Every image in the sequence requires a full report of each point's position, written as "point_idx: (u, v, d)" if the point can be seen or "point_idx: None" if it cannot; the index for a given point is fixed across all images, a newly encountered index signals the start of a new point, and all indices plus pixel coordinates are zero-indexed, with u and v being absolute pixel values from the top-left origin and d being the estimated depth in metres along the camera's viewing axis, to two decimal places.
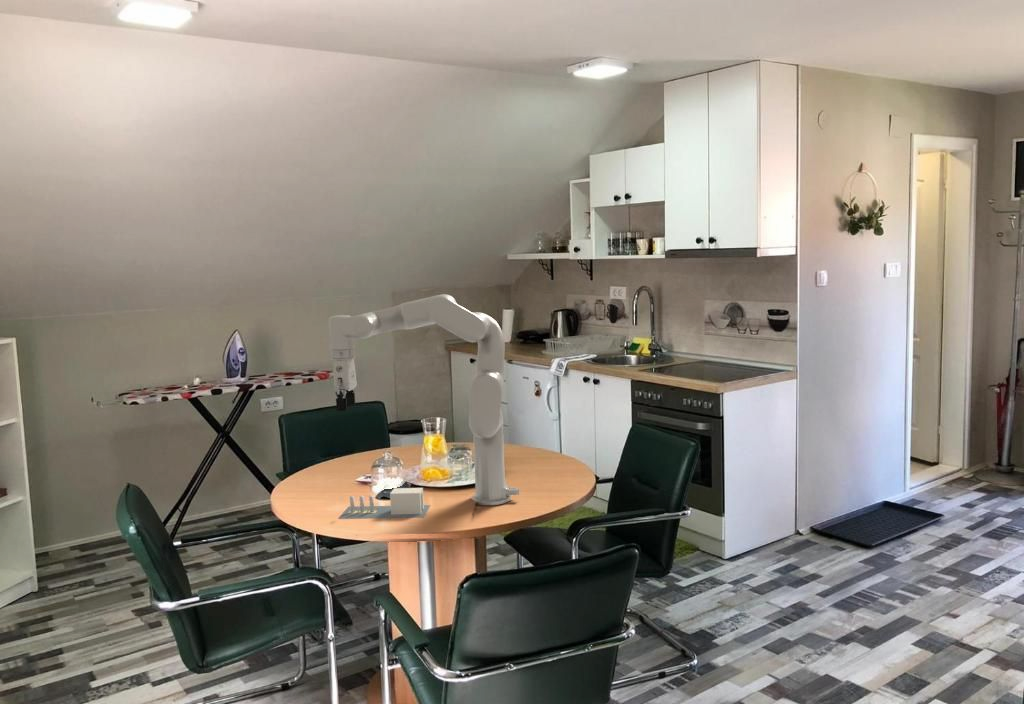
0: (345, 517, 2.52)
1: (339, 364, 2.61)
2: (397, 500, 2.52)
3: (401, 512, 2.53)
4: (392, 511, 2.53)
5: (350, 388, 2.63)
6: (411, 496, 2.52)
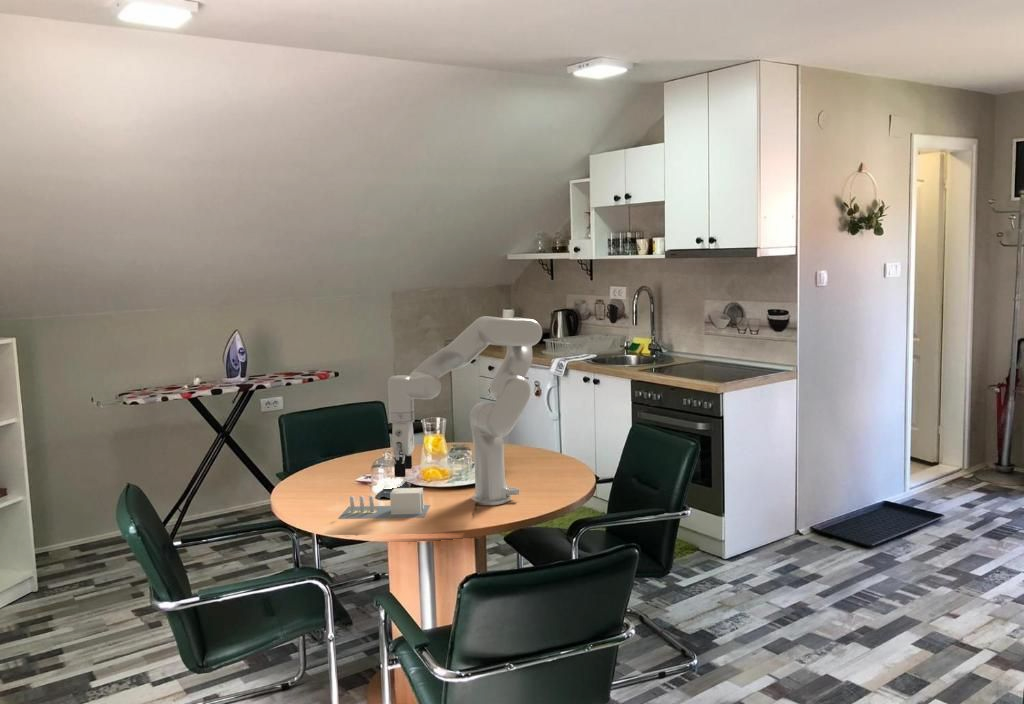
0: (345, 517, 2.52)
1: (399, 428, 2.47)
2: (397, 500, 2.52)
3: (401, 512, 2.53)
4: (392, 511, 2.53)
5: (409, 453, 2.49)
6: (411, 496, 2.52)
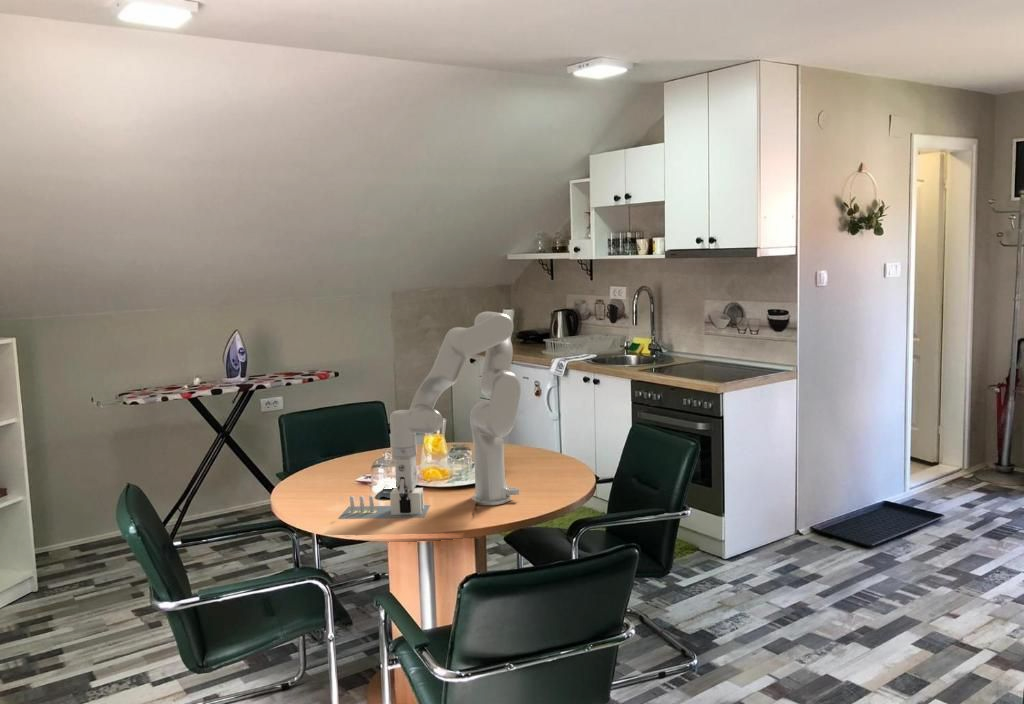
0: (345, 517, 2.52)
1: (401, 463, 2.49)
2: (397, 500, 2.52)
3: None
4: (392, 511, 2.53)
5: (413, 487, 2.51)
6: (411, 496, 2.52)
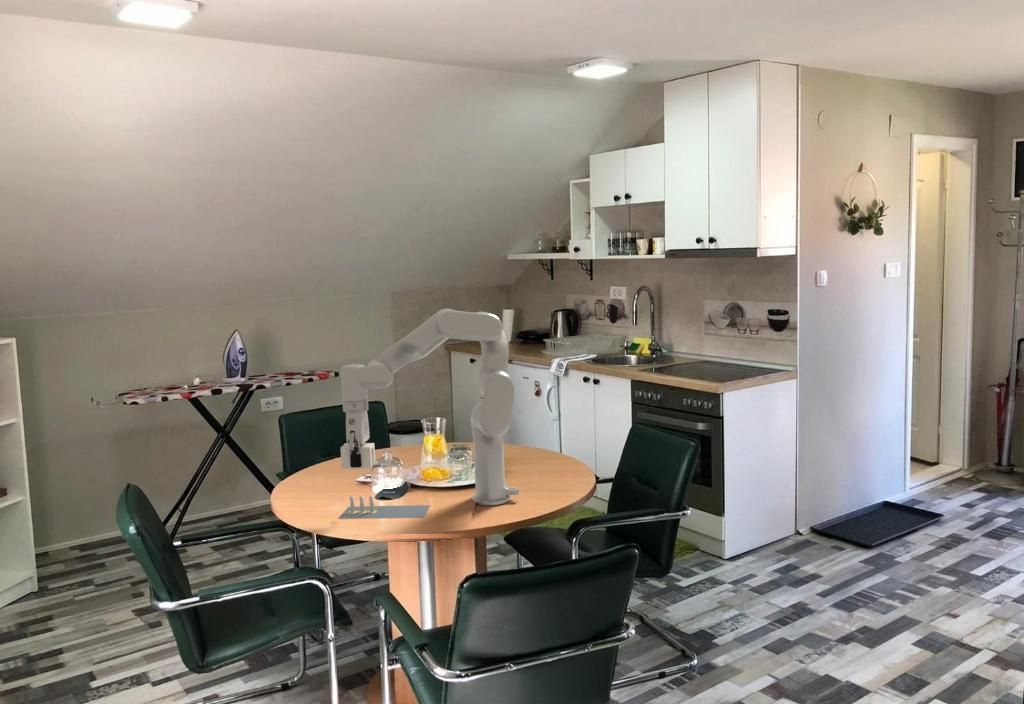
0: (345, 517, 2.52)
1: (352, 416, 2.48)
2: (347, 454, 2.52)
3: None
4: (343, 466, 2.52)
5: (363, 441, 2.50)
6: (362, 450, 2.51)
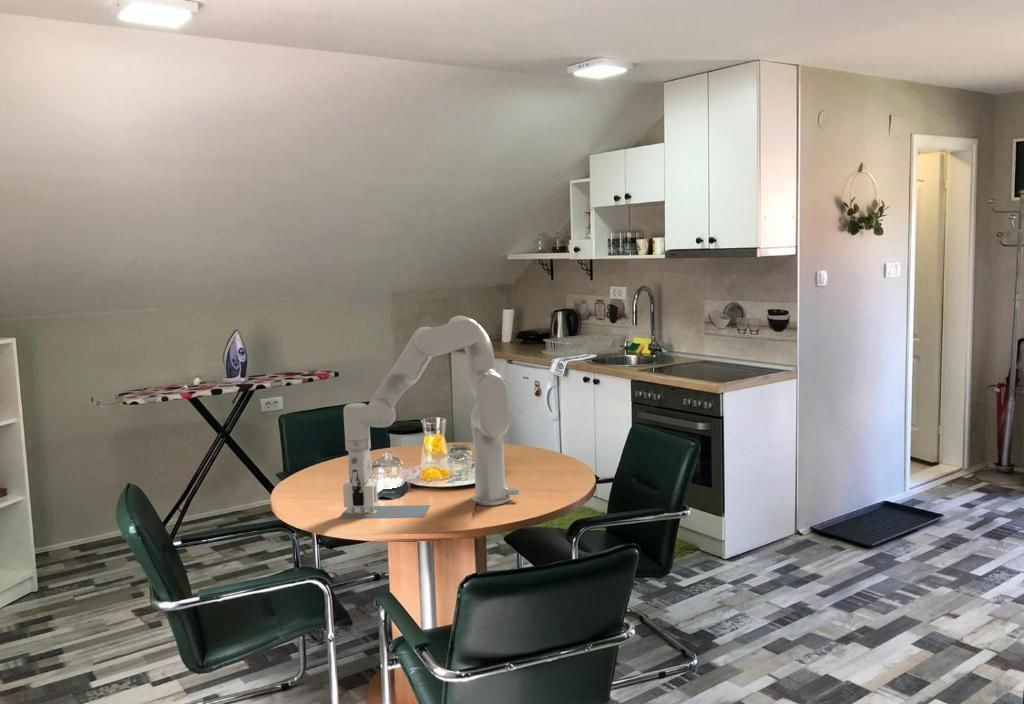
0: (345, 517, 2.52)
1: (354, 456, 2.50)
2: (350, 493, 2.53)
3: None
4: (345, 504, 2.54)
5: (365, 480, 2.51)
6: (364, 489, 2.53)
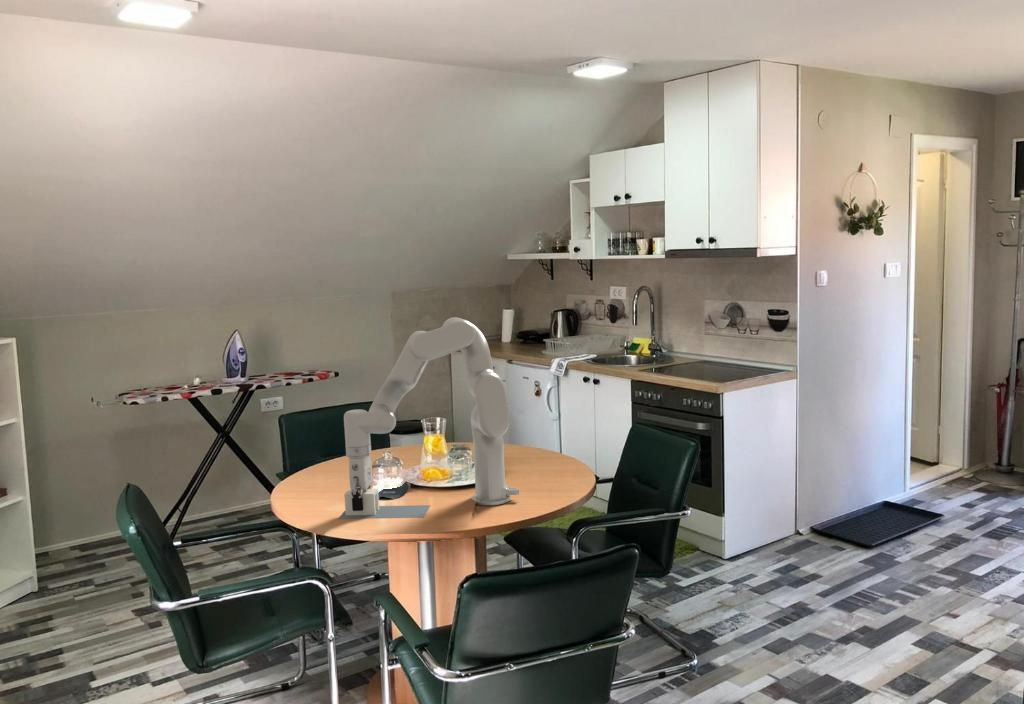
0: (345, 517, 2.52)
1: (355, 462, 2.50)
2: (351, 501, 2.53)
3: (355, 513, 2.54)
4: (347, 512, 2.54)
5: (366, 487, 2.52)
6: (365, 497, 2.53)
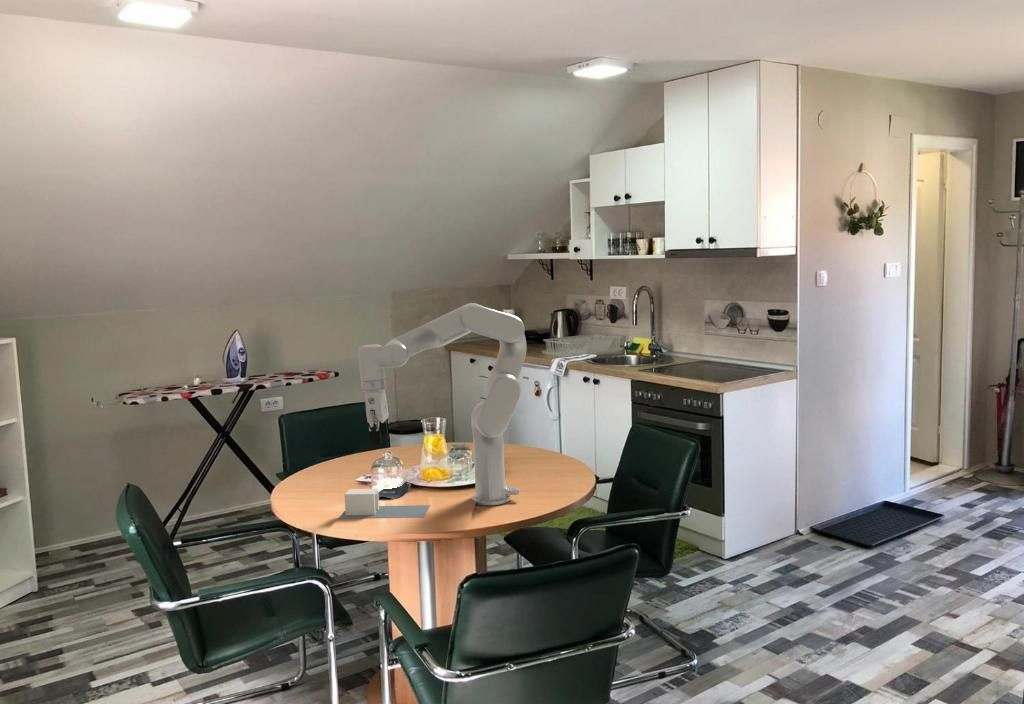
0: (345, 517, 2.52)
1: (371, 396, 2.52)
2: (351, 501, 2.53)
3: (355, 513, 2.54)
4: (347, 512, 2.54)
5: (383, 420, 2.54)
6: (365, 497, 2.53)
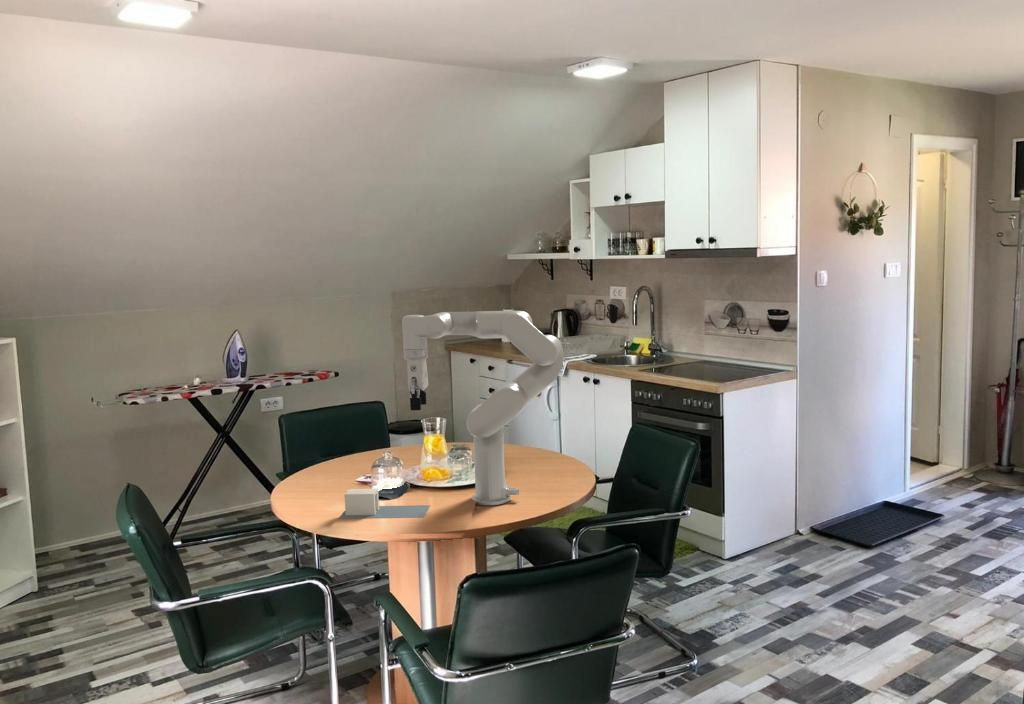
0: (345, 517, 2.52)
1: (413, 364, 2.61)
2: (351, 501, 2.53)
3: (355, 513, 2.54)
4: (347, 512, 2.54)
5: (424, 387, 2.63)
6: (365, 497, 2.53)
